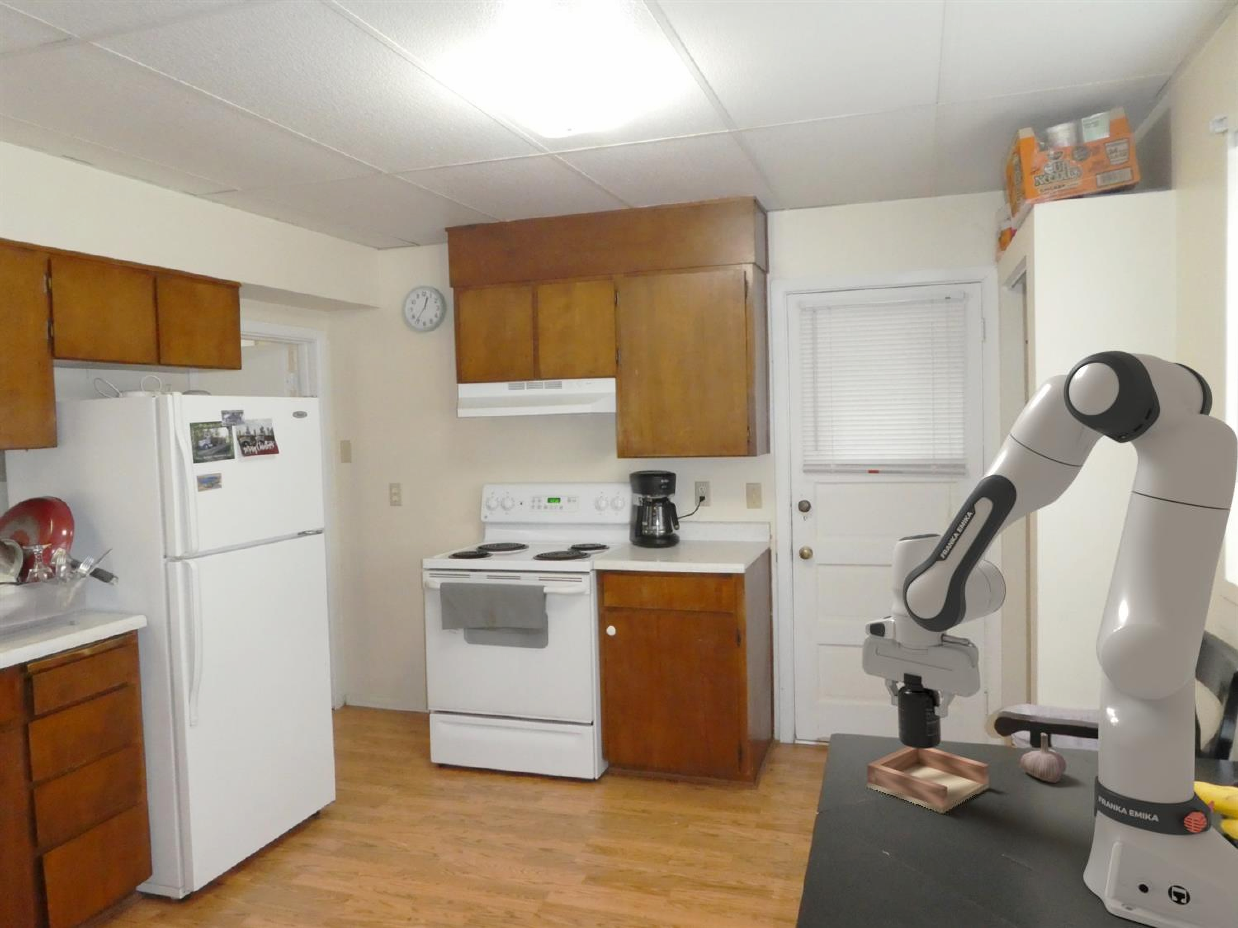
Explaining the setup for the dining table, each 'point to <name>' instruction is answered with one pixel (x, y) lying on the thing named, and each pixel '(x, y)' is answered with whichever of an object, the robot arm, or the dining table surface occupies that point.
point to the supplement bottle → (918, 714)
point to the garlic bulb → (1044, 762)
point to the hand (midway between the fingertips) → (918, 710)
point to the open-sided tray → (928, 777)
